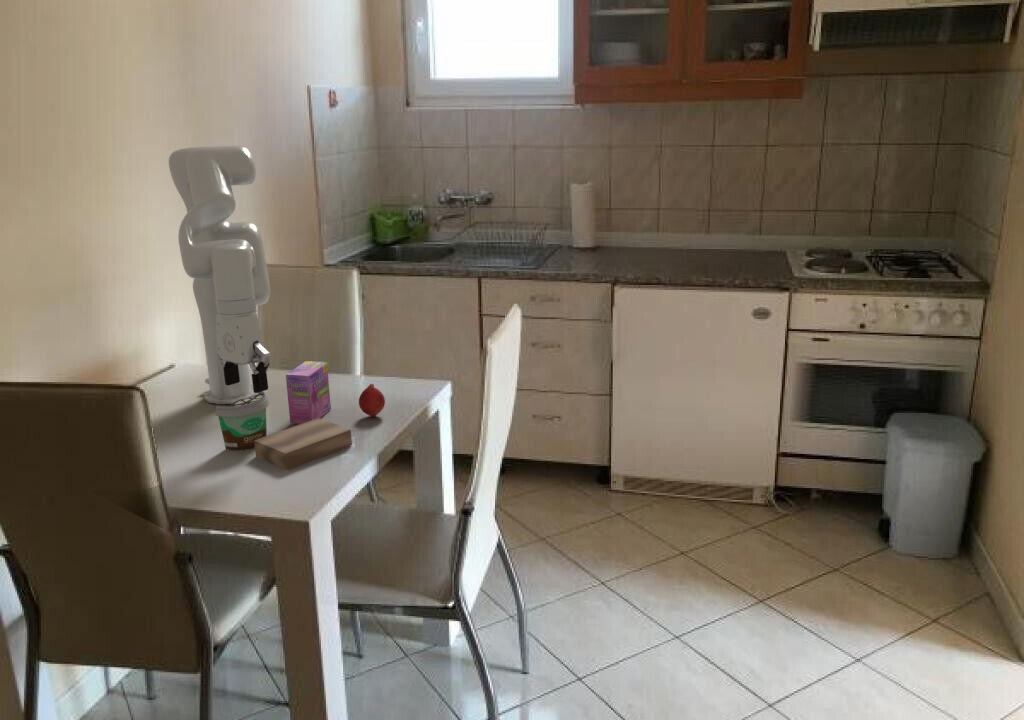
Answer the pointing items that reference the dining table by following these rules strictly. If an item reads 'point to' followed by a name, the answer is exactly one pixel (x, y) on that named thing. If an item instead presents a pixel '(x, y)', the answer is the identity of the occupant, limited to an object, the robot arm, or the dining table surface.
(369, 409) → the onion
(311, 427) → the brown flat block
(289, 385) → the box
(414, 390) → the dining table surface
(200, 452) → the dining table surface
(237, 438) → the food container
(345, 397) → the dining table surface
